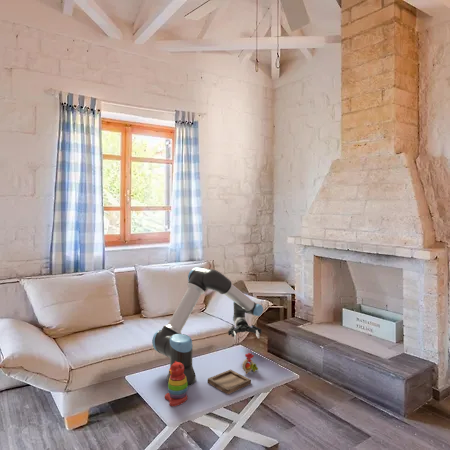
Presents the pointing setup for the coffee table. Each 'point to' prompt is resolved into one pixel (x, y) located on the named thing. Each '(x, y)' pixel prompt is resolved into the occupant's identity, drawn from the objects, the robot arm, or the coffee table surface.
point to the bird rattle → (249, 364)
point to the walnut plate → (229, 381)
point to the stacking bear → (177, 385)
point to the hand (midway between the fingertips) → (247, 336)
